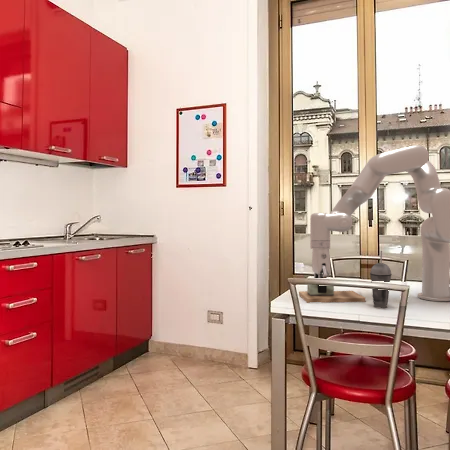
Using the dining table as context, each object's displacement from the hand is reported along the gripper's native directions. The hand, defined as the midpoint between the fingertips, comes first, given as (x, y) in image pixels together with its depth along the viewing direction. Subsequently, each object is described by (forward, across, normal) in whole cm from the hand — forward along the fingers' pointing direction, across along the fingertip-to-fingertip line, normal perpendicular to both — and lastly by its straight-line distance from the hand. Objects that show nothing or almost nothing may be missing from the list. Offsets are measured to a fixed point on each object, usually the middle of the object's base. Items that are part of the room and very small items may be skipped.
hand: (320, 290), depth 164 cm
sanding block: (+1, 0, 0) cm, 1 cm away
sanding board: (+3, 0, -4) cm, 5 cm away
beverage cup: (+3, -15, -18) cm, 23 cm away
